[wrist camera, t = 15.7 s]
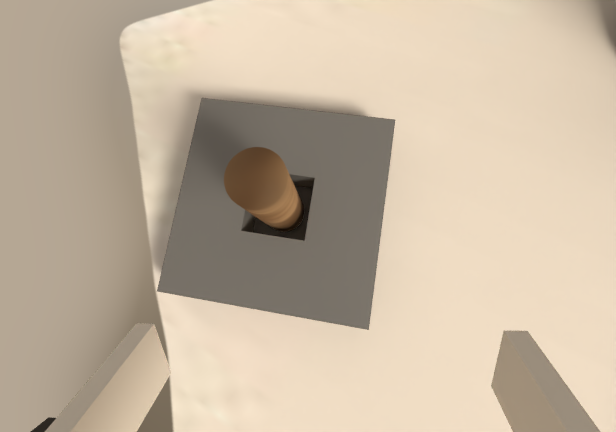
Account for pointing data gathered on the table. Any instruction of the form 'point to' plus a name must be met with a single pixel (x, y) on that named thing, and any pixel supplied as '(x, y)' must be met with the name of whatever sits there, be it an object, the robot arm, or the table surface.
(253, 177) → the peg
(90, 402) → the robot arm
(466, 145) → the table surface
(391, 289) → the table surface
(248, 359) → the table surface
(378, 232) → the socket
